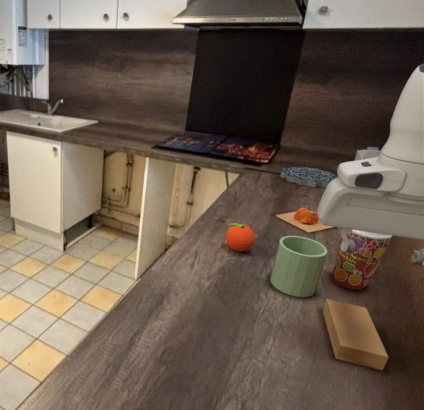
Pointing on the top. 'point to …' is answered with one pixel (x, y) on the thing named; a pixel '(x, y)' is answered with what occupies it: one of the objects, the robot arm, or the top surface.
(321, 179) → the decorative tile
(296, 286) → the cup
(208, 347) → the top surface
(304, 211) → the salmon on cutting board
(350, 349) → the wooden block
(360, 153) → the milk carton
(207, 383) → the top surface
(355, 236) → the smoothie
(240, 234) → the clementine
